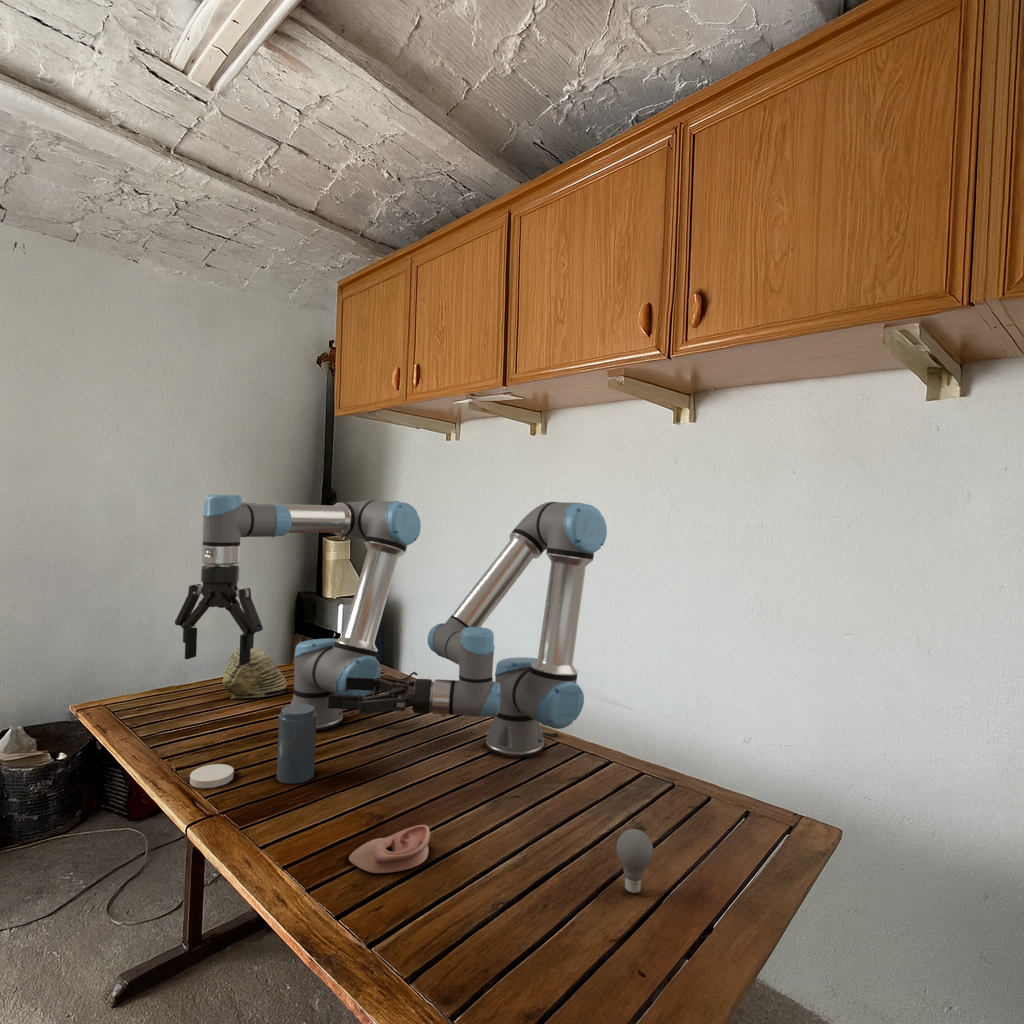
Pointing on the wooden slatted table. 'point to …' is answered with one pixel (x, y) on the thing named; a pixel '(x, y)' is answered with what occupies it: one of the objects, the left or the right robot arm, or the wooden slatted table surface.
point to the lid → (211, 776)
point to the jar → (296, 743)
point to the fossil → (253, 676)
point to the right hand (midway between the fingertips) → (337, 691)
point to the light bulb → (634, 857)
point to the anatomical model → (393, 851)
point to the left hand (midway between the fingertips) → (217, 661)
